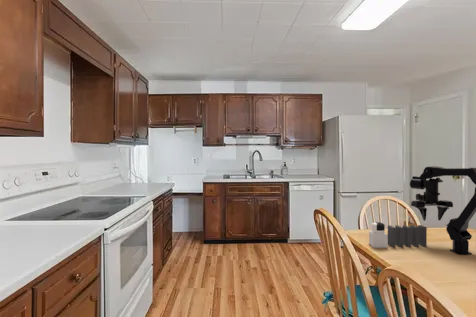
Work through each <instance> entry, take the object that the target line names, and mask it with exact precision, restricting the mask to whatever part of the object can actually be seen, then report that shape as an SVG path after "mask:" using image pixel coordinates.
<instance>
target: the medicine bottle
mask: <svg viewBox="0 0 476 317" xmlns="http://www.w3.org/2000/svg"><path fill="white" fill-rule="evenodd" d="M385 227H386V225H385V223H383V222H379V221H378V222H377V221H376V222H372V223H371V230H369V231H368V244H369V245H370V246H371V247H372V248H373V249H374V248H375V249H376V248H377V249H387V248H388V246H389V245H388V233H386V232H385Z"/></svg>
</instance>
